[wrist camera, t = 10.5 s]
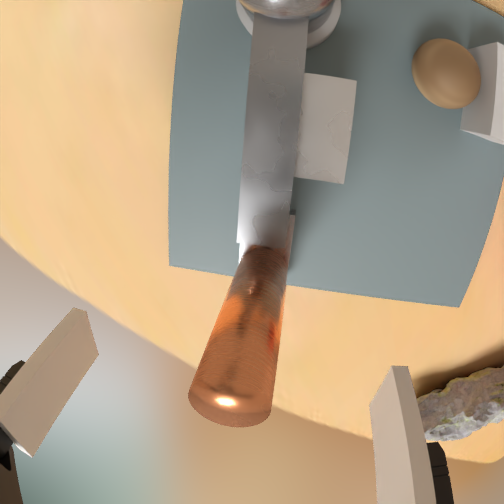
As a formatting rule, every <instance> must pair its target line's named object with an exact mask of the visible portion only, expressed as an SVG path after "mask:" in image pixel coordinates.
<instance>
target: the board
mask: <svg viewBox="0 0 504 504" xmlns="http://www.w3.org/2000/svg"><path fill="white" fill-rule="evenodd" d="M252 32H253V22H252V21H251V20H250V18H249V17H248V15H247V14H246V12H245V10H244V9H243V7H242V5H241V4H240V2H239V1H238V0H183V6H182V13H181V21H180V28H179V36H178V45H177V54H176V64H175V74H174V86H173V99H172V114H171V131H170V154H169V206H168V216H169V266H174V267H180V268H186V269H192V270H198V271H203V272H209V273H215V274H221V275H228V276H234V275H235V273H236V270H237V268H238V265H239V254H240V243H237V228H238V213H239V198H240V183H241V169H242V155H243V141H244V128H245V115H246V103H247V90H248V78H249V66H250V54H251V43H252ZM438 38H439V39H448V40H451V41H454V42H456V43H458V44H460V45H462V46H463V47H464V48H466V49H467V50H468V51H469V52H470V53H471V55H472V56H473V57H474V59H475V61H476V62H477V64H478V67H479V70H480V74H481V87H480V90H479V93H478V95H477V97H476V98H475V99H474V101H473V102H471V103H470V104H469V105H467V106H465V107H463V108H459V109H446V108H442V107H439V106H437V105H435V104H433V103H432V102H430V101H429V100H428V99H426V98H425V97H424V96H423V94H422V93H421V92H420V91H419V89H418V88H417V86H416V84H415V82H414V79H413V76H412V59H413V56H414V54H415V52H416V50H417V49H418V48H419V47H420V46H421V45H422V44H423V43H425V42H427V41H429V40H432V39H438ZM304 73H311V74H318V75H325V76H332V77H338V78H344V79H350V80H355V81H357V85H356V95H355V105H354V114H353V122H352V130H351V138H350V146H349V153H348V160H347V167H346V173H345V180H344V184H339V183H333V182H326V181H320V180H312V179H305V178H298V177H294V178H293V187H292V195H291V203H290V209H296V216H295V224H294V231H293V238H292V245H291V252H290V259H289V266H288V273H287V282H286V285H291V286H298V287H305V288H312V289H318V290H325V291H332V292H340V293H347V294H354V295H361V296H369V297H376V298H384V299H392V300H400V301H408V302H416V303H424V304H433V305H441V306H450V307H460V304H461V302H462V300H463V298H464V295H465V293H466V291H467V288H468V286H469V284H470V281H471V279H472V276H473V274H474V271H475V269H476V266H477V264H478V261H479V258H480V255H481V253H482V250H483V247H484V244H485V241H486V238H487V235H488V232H489V229H490V226H491V222H492V219H493V216H494V212H495V209H496V205H497V201H498V198H499V194H500V190H501V186H502V181H503V177H504V17H503V16H501V15H499V14H498V13H496V12H494V11H492V10H490V9H489V8H487V7H485V6H483V5H481V4H479V3H477V2H475V1H473V0H335V2H334V5H333V9H332V12H331V15H330V17H329V18H328V20H327V21H326V22H325V23H324V25H323V26H321V27H320V28H319V29H317V30H316V31H314V32H312V33H309V34H307V47H306V59H305V71H304Z"/></svg>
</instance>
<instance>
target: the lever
mask: <svg viewBox="0 0 504 504" xmlns="http://www.w3.org/2000/svg"><path fill="white" fill-rule="evenodd" d="M238 1H239V2H240V4H241V5H242V7H243V9H244V10H245V12H246V14H247V15H248V17H249V18H250V20H251V21H252V22H253V32H252V43H251V54H250V66H249V78H248V90H247V103H246V115H245V128H244V141H243V155H242V169H241V183H240V198H239V213H238V228H237V243H240V254H239V265H238V268H237V270H236V273H235V275H234V278H233V280H232V283H231V285H230V288H229V290H228V293H227V295H226V298H225V300H224V303H223V305H222V308H221V310H220V313H219V315H218V318H217V321H216V323H215V326H214V328H213V331H212V333H211V336H210V338H209V341H208V343H207V346H206V348H205V351H204V354H203V356H202V359H201V361H200V364H199V366H198V369H197V371H196V374H195V377H194V379H193V382H192V385H191V387H190V390H189V393H188V398H189V401H190V403H191V405H192V406H193V408H194V409H195V410H196V411H197V412H198V413H199V414H201V415H202V416H203V417H205V418H207V419H209V420H211V421H213V422H215V423H218V424H221V425H225V426H231V427H249V426H254V425H257V424H260V423H262V422H263V421H264V420H266V419H267V418H268V416H269V415H270V412H271V406H272V399H273V391H274V384H275V376H276V369H277V361H278V353H279V345H280V336H281V328H282V319H283V310H284V301H285V292H286V282H287V273H288V266H289V259H290V252H291V245H292V238H293V231H294V224H295V216H296V209H290V203H291V195H292V187H293V178H294V177H298V178H305V179H312V180H320V181H326V182H333V183H339V184H344V180H345V173H346V167H347V160H348V153H349V146H350V138H351V130H352V122H353V114H354V105H355V95H356V85H357V81H355V80H350V79H344V78H338V77H332V76H325V75H318V74H311V73H304V71H305V59H306V47H307V34H309V33H312V32H314V31H316V30H317V29H319V28H320V27H321V26H323V25H324V23H325V22H326V21H327V20H328V18H329V17H330V15H331V12H332V9H333V5H334V2H335V0H238Z"/></svg>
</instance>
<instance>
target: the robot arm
mask: <svg viewBox="0 0 504 504" xmlns="http://www.w3.org/2000/svg"><path fill="white" fill-rule="evenodd" d="M98 355H99V354H98V351H97V347H96V344H95V341H94V337H93V334H92V330H91V327H90V323H89V320H88V316H87V312H86V311H83V310H80V309H77V308H73V309H72V310H71V311H70V312H69V313H68V314H67V315H66V317H65V318H64V319H63V320H62V321H61V322H60V323H59V324H58V325H57V326H56V328H55V329H54V330H53V331H52V332H51V333H50V334H49V336H48V337H47V338H46V339H45V340H44V341H43V342H42V344H41V345H40V346H39V347H38V348H37V349H36V351H35V352H34V353H33V354H32V355H31V357H30V358H29V359H28V360H27V361H26V362H24V361H22V360H21V361H19V362H18V363H16V364H15V365H13V366H12V367H11V368H10V369H9V370H8V372H7V373H6V374H5V376H4V377H3V378H2V379H1V380H0V504H23V501H22V497H21V493H20V487H19V483H18V477H17V471H16V466H15V459H14V452H13V449H12V446H11V445H12V444H13V443H14V444H15V445H16V446H17V447H18V448H19V449H20V450H22V451H23V452H25V453H26V454H28V455H29V456H31V457H32V458H33V456H34V455H35V453H36V451H37V449H38V448H39V446H40V444H41V443H42V441H43V439H44V438H45V436H46V434H47V433H48V431H49V430H50V428H51V426H52V424H53V423H54V421H55V420H56V418H57V417H58V415H59V413H60V412H61V411H62V409H63V407H64V406H65V404H66V403H67V401H68V399H69V398H70V397H71V395H72V394H73V392H74V390H75V389H76V387H77V386H78V384H79V383H80V381H81V380H82V378H83V377H84V375H85V374H86V372H87V371H88V370H89V368H90V367H91V365H92V364H93V362H94V361H95V359H96V358H97V356H98ZM369 407H370V416H371V424H372V434H373V444H374V455H375V469H376V484H377V504H454V501H453V494H452V488H451V482H450V477H449V476H448V474H449V471H448V467H447V461H446V457H445V452H444V451H443V449H442V448H441V446H440V444H439V443H438V442H433V443H426V438H425V434H424V429H423V424H422V420H421V416H420V411H419V407H418V403H417V399H416V395H415V391H414V387H413V384H412V380H411V376H410V373H409V369H408V366H391V368H390V370H389V371H388V373H387V375H386V377H385V379H384V381H383V382H382V384H381V386H380V388H379V389H378V391H377V393H376V395H375V396H374V398H373V400H372V401H371V403H370V405H369Z"/></svg>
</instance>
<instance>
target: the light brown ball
mask: <svg viewBox="0 0 504 504" xmlns="http://www.w3.org/2000/svg"><path fill="white" fill-rule="evenodd" d="M412 76H413V79H414V82H415V84H416V86H417V88H418V89H419V91H420V92H421V93H422V94H423V96H424V97H425V98H426V99H428V100H429V101H430V102H432V103H433V104H435V105H437V106H439V107H442V108H446V109H459V108H463V107H465V106H467V105H469V104H470V103H471V102H473V101H474V99H475V98H476V97H477V95H478V93H479V90H480V87H481V74H480V70H479V67H478V64H477V62H476V61H475V59H474V57H473V56H472V55H471V53H470V52H469V51H468V50H467V49H466V48H464V47H463V46H462V45H460V44H458V43H456V42H454V41H451V40H448V39H439V38H438V39H432V40H429V41H427V42H425V43H423V44H422V45H421V46H420V47H419V48H418V49H417V50H416V52H415V54H414V56H413V59H412Z"/></svg>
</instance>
